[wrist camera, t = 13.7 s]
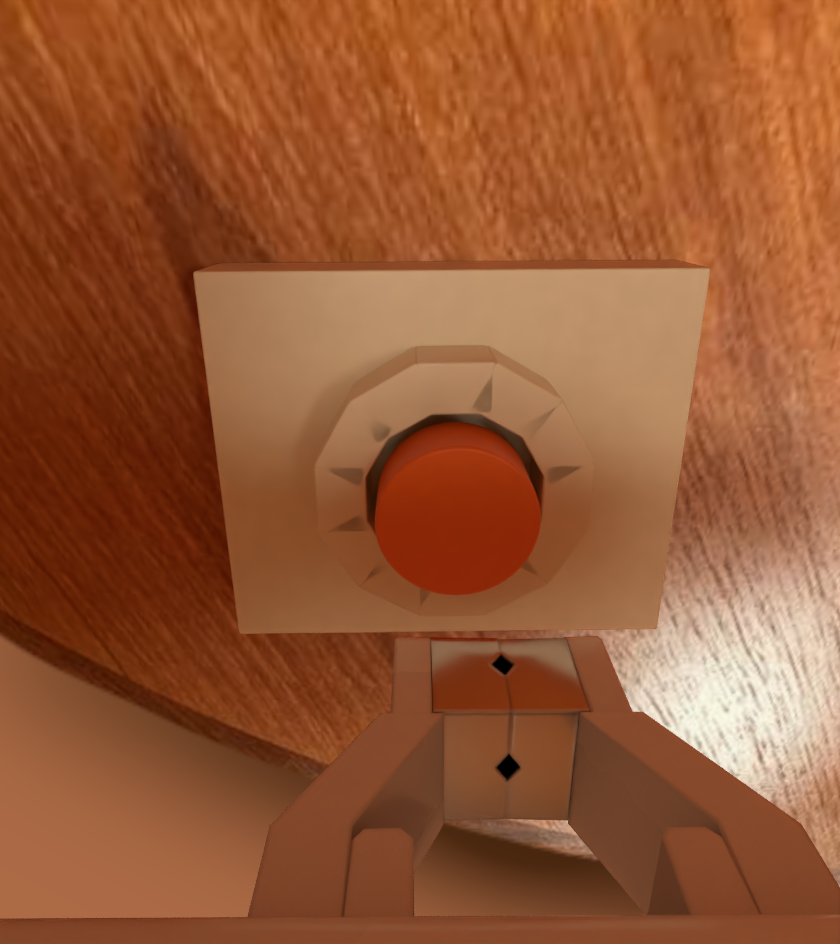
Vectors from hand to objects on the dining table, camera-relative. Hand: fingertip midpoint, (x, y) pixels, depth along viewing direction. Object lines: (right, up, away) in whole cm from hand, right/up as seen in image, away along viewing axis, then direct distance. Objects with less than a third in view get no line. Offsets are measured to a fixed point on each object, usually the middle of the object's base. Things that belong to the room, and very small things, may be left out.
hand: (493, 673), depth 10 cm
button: (0, +3, +6) cm, 7 cm away
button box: (0, +4, +9) cm, 10 cm away
